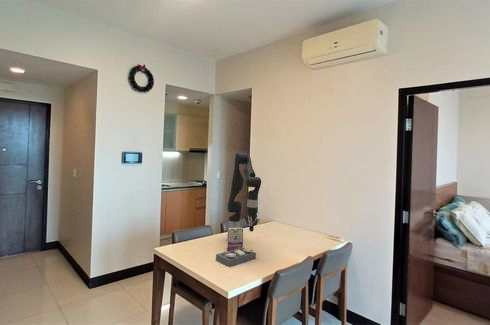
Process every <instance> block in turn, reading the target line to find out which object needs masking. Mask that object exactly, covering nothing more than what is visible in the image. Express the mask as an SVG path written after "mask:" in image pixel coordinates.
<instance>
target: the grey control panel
mask: <svg viewBox="0 0 490 325" xmlns="http://www.w3.org/2000/svg"><path fill="white" fill-rule="evenodd" d="M238 249H239V250H241V251H242V252H244V253H245V255H243V256H239V255H237V254H236V253H235V252H234V251H235V250H238ZM238 249H234V250H231V251H228V250H227V251H224V252H219V253H216V254H215V261H216V262H219V263H221V264H223V265H224V266H227V267H229V268H230V267H234V266H237V265H241V264H242V263H243V264H244V263H247V262H250V261H253V260H257V252H255V251H254V250H253V251H251V252H245V251H243V249H246V248H245V247H243V248H238ZM228 253H232V254H236V256H234V257H227V256H225V254H228Z"/></svg>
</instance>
